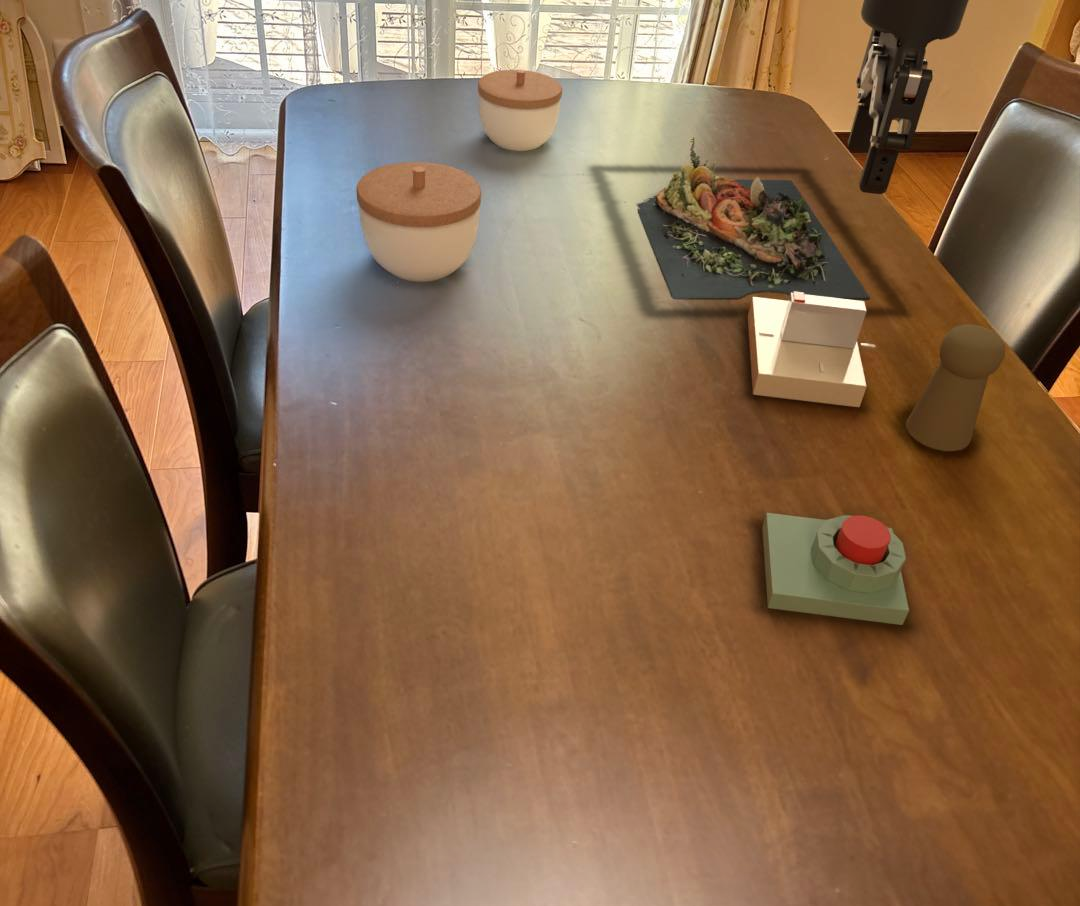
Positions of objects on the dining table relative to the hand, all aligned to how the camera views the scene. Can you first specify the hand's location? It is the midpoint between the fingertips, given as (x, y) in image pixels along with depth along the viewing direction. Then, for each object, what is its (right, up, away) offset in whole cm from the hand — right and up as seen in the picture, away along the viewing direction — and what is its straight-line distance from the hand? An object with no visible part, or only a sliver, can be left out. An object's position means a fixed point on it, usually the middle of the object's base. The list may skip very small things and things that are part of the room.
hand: (865, 170), depth 87 cm
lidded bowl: (-41, -3, +23) cm, 47 cm away
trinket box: (-31, +20, +48) cm, 61 cm away
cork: (+9, -22, +7) cm, 25 cm away
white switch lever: (-1, -12, +12) cm, 17 cm away
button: (-4, -32, -10) cm, 34 cm away
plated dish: (-5, +4, +33) cm, 33 cm away
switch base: (-2, -14, +14) cm, 20 cm away
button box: (-5, -35, -8) cm, 36 cm away
